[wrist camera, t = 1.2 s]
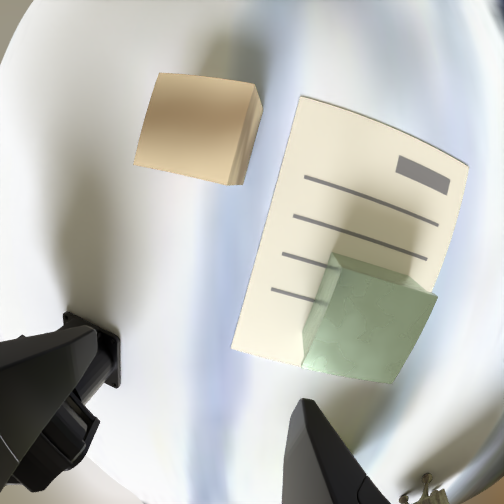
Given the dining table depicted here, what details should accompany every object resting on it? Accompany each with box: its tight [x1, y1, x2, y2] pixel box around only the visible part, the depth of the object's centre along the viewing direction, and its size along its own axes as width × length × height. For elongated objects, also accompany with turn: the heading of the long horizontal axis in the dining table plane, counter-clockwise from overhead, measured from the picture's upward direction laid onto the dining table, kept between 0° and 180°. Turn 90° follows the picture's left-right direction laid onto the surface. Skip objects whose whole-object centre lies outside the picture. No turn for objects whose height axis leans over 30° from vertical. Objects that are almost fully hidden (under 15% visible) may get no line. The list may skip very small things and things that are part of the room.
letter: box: [231, 96, 469, 367], centre depth 17 cm, size 18×13×1 cm
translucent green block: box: [301, 252, 438, 384], centre depth 16 cm, size 6×6×4 cm
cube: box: [133, 73, 263, 185], centre depth 14 cm, size 5×5×5 cm
